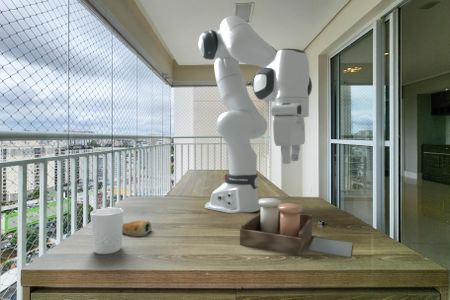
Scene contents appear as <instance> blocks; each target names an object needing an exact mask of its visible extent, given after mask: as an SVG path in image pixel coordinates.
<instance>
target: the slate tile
mask: <svg viewBox="0 0 450 300" xmlns="http://www.w3.org/2000/svg"><path fill="white" fill-rule="evenodd" d="M353 245H354V244H353V242H348V241H341V240H336V239H335V240H334V239H328V238H323V237H322V238H321V237H313V239H312V240H311V242H310V244H309V246H308V248H307V251H309V252H314V253H315V252H316V253H320V254H327V255H332V256H339V257H344V258H350V259H351V256H352V249H353Z"/></svg>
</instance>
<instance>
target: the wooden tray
mask: <svg viewBox="0 0 450 300" xmlns="http://www.w3.org/2000/svg"><path fill="white" fill-rule="evenodd" d="M260 221H261V208H260V209H259V210H258V213H256V214H255V215H253V216H252V217H251V218H249V219H248V220H246V221H245V222H243V223H242V224H240V229H239V245H241V246H247V247H250V248H251V247H252V248H258V249H263V250H267V251H268V250H269V251H273V252H280V253H286V254H291V255H297V256H301V255H302V254H303V252H304V250H305V248H306V247H307V245H308V243H309V241H310V239H311V238H312V236H313V214H308V213H305V214H304V213H300V232H299V233H298V237H291V236H285V235H280V211H278V234H272V233H265V232H260Z"/></svg>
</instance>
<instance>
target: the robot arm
mask: <svg viewBox="0 0 450 300" xmlns="http://www.w3.org/2000/svg"><path fill="white" fill-rule="evenodd" d="M198 51H199V53H200V55H201V56H202V57H203V59H205V60H212V61H213V60H214V59H215V61H214V65H213V68H214V76H215V81H216V85H217V88H218V92H219V97H220V99H221V103H222V104H223V105H224V106H225V107H226V108H227V109H228V110H229V111H224V112H223V113H221V114H219V115H218V118H217V119H216V130H217V132H218V134H219V135H220V136H221V137H222V139H223V140H224V142H225V145H226V149H227V153H228V173H227V174H225V175H223V180H224V182H223V183H222V184H221V185H220V186H219V187H217V188H216V189H215V190H213V191H212V193H211V195H210V201H208V202H206V203H205V205H204V209H208V210H212V211H218V212H222V213H227V214H231V213H232V214H237V213H254V212H259V209H261V206H260V205H259V197H258V196H259V195H258V186H259V178H258V177H259V176H258V173H257V172H258V171H257V170H258V169H257V168H258V165H257V164H258V163H257V162H258V161H257V160H258V159H257V157H258V156H257V153H256V152H255V150H254V149H253V148H252V145H251V140H255V139H258V138H260V137H262V136H264V135H265V134H266V132H267V130H268V121H267V120H266V118H265V116H264V115H262V113H260V111H259V109H257V107H256V105H255V103H254V102H253V100H252V98H251V96H250V94H249V91H248V89H247V85H246V82H245V79H244V75H243V73H242V70H241V67H240V63H244V64H247V65H252V66H257V67H260V68H259V69H258V70H257V72H255V74H254V75H253V78H252V85H251V86H252V91H253V94H254V95H255V97H256V99H258V100H261V101H264V102H271V103H272V102H274V104H273V105H272V106H271V108H270V115H271V117H272V116H273V118H272V132H273V142H274V144H275V146H276V147H277V146H278V147H280V152H281V157H282V158H281V159H282V161H281V162H282V164H285V165H289V164H291V162H298V161H299V159H300V155H299V154H300V150H301V145H305V142H306V129H305V127H306V126H305V125H306V124H305V118H309V114H310V113H309V112H310V111H309V109H310V95H311V92H312V89H313V83H312V79H311V77H310V65H309V64H310V63H309V58H308V57H309V56H308V54H307V52H306V51H304V50H302V49H299V48H282V49H279V50H277V49H275V47H273V46H272V45H271V44H270V43H268V42H267V41H266V40H265V39H263V37H262V36H260V35H259V34H258V33H257V32H256V31H255V30H254V29H253V27H252V26H251V25H250V24H249V23H248V22H247V21H246V20H245V19H243V18H242V17H240V16H238V15H236V14H235V15H234V14H233V15H228V16H226V17H225V18H224V19H223V20H222V21H221V23H220V25H219V28H218V29H210V30H209V29H208V30H207V31H204V32H202V33H201V34H200V36H199V37H198ZM239 62H240V63H239ZM291 149H292V150H291Z"/></svg>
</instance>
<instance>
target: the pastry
mask: <svg viewBox="0 0 450 300" xmlns="http://www.w3.org/2000/svg"><path fill="white" fill-rule="evenodd" d="M152 228H153V227H152V224H151V221H149V220H148V221H143V220H134V221H131V222H130V221H129V222H127V223H123V230H122V234H124V235H127V236H133V237H134V236H135V237H144V236H146V235H147V234H148V233H149V232H150V231H151V230H152Z"/></svg>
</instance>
